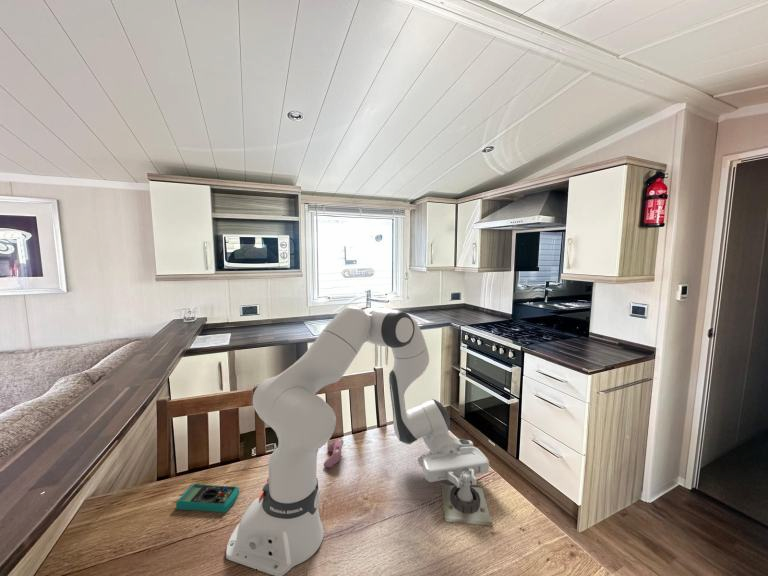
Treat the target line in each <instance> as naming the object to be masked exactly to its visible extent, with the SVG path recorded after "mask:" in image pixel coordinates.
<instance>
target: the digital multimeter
mask: <svg viewBox="0 0 768 576" xmlns="http://www.w3.org/2000/svg"><path fill="white" fill-rule="evenodd" d="M239 495H240V487H239V486H228V485H226V486H224V485H213V484H211V485H210V484H209V485H208V484H199V483H193V484H192V485H191V486H189V488H187V489H186V491H185V492H184V493H183V494H181V496H180V497H179V498H178V500H177V501H176V502H175V507H176V510H181V511H200V512H202V511H204V512H213V513H219V514H220V513H223V514H225V513H227V512H228V511H229V510H230V509H231V508H232V506H233V505H234V504H235V503H236V501H237V499H238V497H239Z"/></svg>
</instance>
